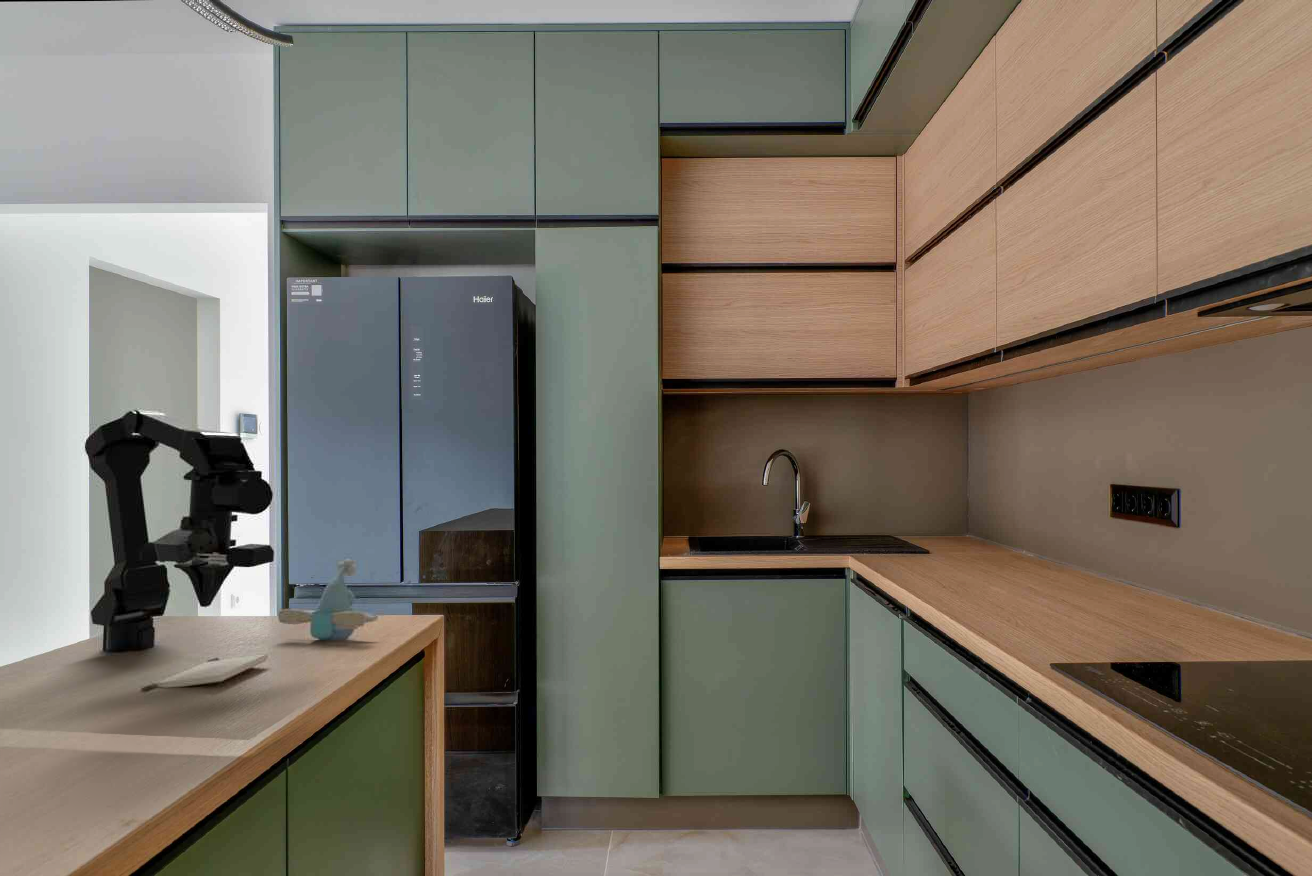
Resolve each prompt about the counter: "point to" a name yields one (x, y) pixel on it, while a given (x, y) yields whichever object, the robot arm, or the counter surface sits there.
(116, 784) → the counter surface
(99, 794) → the counter surface
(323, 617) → the toy figure
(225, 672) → the tile
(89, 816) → the counter surface
